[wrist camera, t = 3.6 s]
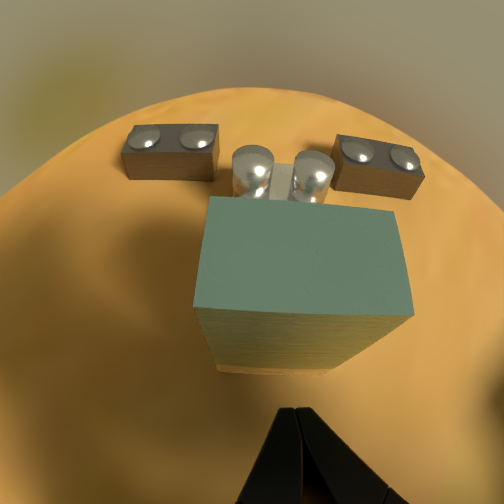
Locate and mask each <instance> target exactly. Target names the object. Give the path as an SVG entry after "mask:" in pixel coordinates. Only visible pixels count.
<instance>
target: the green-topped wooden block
mask: <svg viewBox="0 0 504 504" xmlns="http://www.w3.org/2000/svg"><path fill="white" fill-rule="evenodd" d="M334 171H335V164H334V162H333V160H332V159H331V158H330V157H329V156H328V155H326V154H324V153H322V152H320V151H316V150H305V151H302V152H300V153H298V154H297V156H296V157H295V162H294V165H291V164H280V163H274V156H273V154H272V153H271V152H270V151H269V150H268V149H267V148H265V147H262V146H258V145H246V146H242V147H240V148H238V149H237V150H236V151H235V152H234V153H233V156H232V194H233V197H223V196H210V199H209V204H208V210H207V216H206V222H205V228H204V234H203V240H202V247H201V253H200V260H199V266H198V273H197V280H196V287H195V294H194V302H193V308H194V311H195V314H196V316H197V319H198V322H199V324H200V327H201V329H202V332H203V335H204V337H205V340H206V342H207V345H208V347H209V350H210V352H211V355H212V357H213V360H214V362H215V364H216V367H217V369H218V372H231V373H246V374H266V375H323V374H325V373H327V372H329V371H330V370H332V369H334V368H335V367H337V366H339V365H340V364H342V363H344V362H345V361H347V360H348V359H350V358H352V357H353V356H355V355H357V354H358V353H360V352H361V351H363V350H364V349H366V348H367V347H369V346H370V345H372V344H374V343H375V342H377V341H378V340H380V339H381V338H382V337H384V336H385V335H387V334H388V333H390V332H391V331H393V330H394V329H396V328H397V327H398V326H400V325H401V324H403V323H404V322H405V321H407V320H408V319H409V318H411V317H412V316H414V308H413V302H412V296H411V290H410V284H409V278H408V273H407V268H406V263H405V258H404V253H403V249H402V244H401V240H400V235H399V231H398V227H397V223H396V219H395V215H394V212H393V211H385V210H377V209H368V208H359V207H350V206H340V205H330V204H323V203H324V200H325V197H326V195H327V192H328V189H329V186H330V183H331V180H332V177H333V174H334Z"/></svg>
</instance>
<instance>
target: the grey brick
mask: <svg viewBox="0 0 504 504" xmlns="http://www.w3.org/2000/svg"><path fill="white" fill-rule="evenodd" d="M219 152H220V149H219V124H154V125H134V127H133V129H132V131H131V132H130V133H129V134H128V137H127V141H126V143H125V145H124V147H123V149H122V151H121V156H122V159H123V162H124V165H125V168H126V171H127V174H128V176H129V179H130V180H195V181H214V180H215V174H216V169H217V163H218V158H219ZM330 158H331V159H332V160H333V162H334V164H335V171H334V174H333V177H332V179H333V185H334V190H337V191H347V192H355V193H363V194H371V195H379V196H387V197H394V198H401V199H408V200H411V199H412V197H413V196H414V194H415V193H416V191H417V189H418V188H419V186H420V184H421V183H422V181H423V179H424V178H425V175H424V173H423V171H422V168H421V166H420V159H419V157H418V156H417V154H416V153H415V152H414V150H413V148H411V147H406V146H402V145H397V144H392V143H387V142H381V141H376V140H370V139H364V138H358V137H352V136H346V135H339V134H337V136H336V139H335V143H334V146H333V149H332V153H331V156H330Z"/></svg>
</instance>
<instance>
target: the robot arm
mask: <svg viewBox="0 0 504 504" xmlns="http://www.w3.org/2000/svg"><path fill="white" fill-rule="evenodd" d="M388 487H389V485H388V484H387V483H385V482H384V481H383V480H382V479H381V478H380V477H379V476H378V475H377V474H376V473H375V472H374V471H373V470H372V469H371V468H370V467H369V466H368V465H367V464H366V463H365V462H364V461H363V460H362V459H361V458H360V457H359V456H358V455H357V454H356V453H355V452H354V451H353V450H352V449H351V448H350V447H349V446H348V445H347V444H346V443H345V442H344V441H343V440H342V439H341V438H340V437H339V436H338V435H337V434H336V433H335V432H334V431H333V430H332V429H331V428H330V427H329V426H328V425H327V424H326V423H325V422H324V421H323V420H322V419H321V418H320V417H319V415H318V414H317V413H316V412H315V411H314V410H313V409H312V408H310V407H298V408H296V409H294V408H279V409H278V411H277V413H276V416H275V418H274V421H273V423H272V425H271V428H270V430H269V432H268V434H267V437H266V439H265V441H264V444H263V446H262V448H261V450H260V453H259V455H258V457H257V459H256V461H255V463H254V466H253V468H252V470H251V472H250V474H249V476H248V478H247V480H246V482H245V484H244V487H243V489H242V491H241V493H240V495H239V497H238V499H237V501H236V502H235V504H409V503H408V502H407V501H406V500H404V499H403V498H402V497H401V496H400V495H399V494H397V493H396V492H395V491H394V490H393V489H392V488H391V487H390V488H388Z"/></svg>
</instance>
